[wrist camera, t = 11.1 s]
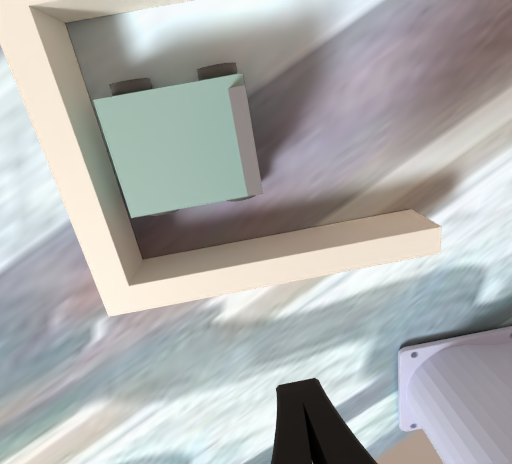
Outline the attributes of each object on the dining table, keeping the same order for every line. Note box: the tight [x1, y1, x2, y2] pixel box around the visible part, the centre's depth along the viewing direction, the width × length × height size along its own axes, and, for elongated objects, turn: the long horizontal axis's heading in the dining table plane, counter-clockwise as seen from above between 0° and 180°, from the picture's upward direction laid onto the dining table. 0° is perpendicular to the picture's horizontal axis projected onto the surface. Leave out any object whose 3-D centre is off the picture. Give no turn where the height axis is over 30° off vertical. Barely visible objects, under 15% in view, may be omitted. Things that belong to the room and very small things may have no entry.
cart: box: [93, 63, 263, 218], centre depth 15 cm, size 6×6×5 cm
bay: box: [0, 0, 442, 316], centre depth 16 cm, size 18×15×3 cm
